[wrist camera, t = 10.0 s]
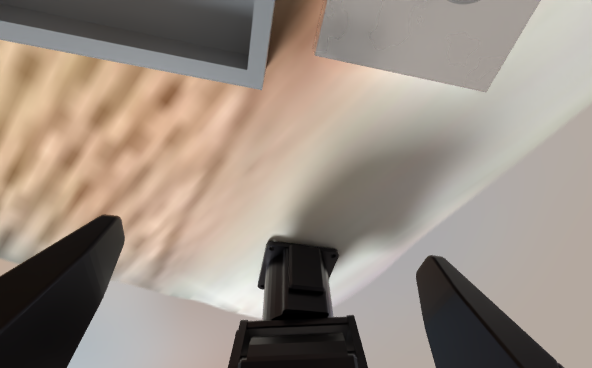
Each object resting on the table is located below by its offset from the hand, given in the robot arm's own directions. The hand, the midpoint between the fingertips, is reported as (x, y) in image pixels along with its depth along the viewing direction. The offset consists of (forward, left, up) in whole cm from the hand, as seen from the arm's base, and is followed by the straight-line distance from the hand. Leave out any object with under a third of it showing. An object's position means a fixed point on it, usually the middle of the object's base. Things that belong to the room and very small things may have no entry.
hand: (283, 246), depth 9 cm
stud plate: (+8, -6, -12) cm, 16 cm away
